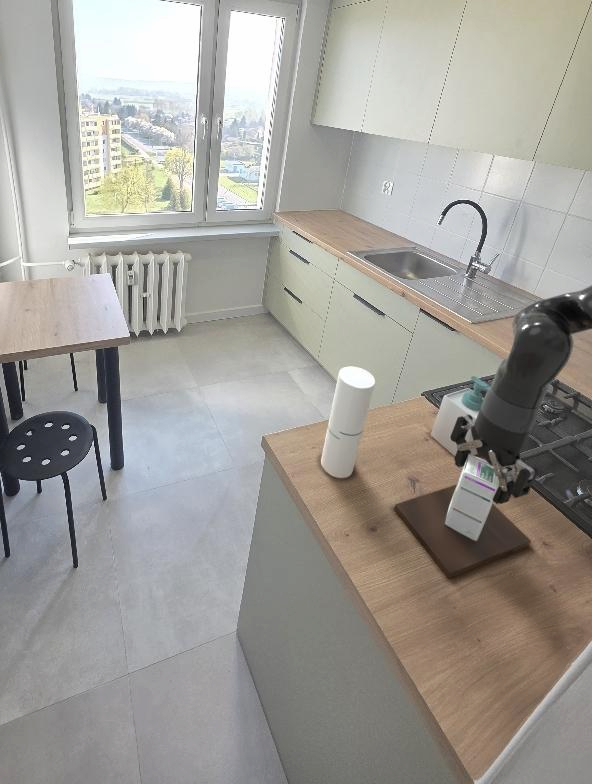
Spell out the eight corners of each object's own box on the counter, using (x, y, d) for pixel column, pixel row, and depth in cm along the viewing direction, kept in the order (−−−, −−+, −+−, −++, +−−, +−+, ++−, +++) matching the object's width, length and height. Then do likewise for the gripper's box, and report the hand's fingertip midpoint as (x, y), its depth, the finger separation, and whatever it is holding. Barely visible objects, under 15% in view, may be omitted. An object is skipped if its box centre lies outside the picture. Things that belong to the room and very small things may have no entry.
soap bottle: (460, 462, 98) (485, 398, 90) (430, 435, 106) (450, 374, 98) (485, 452, 101) (512, 389, 93) (454, 426, 109) (476, 366, 101)
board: (467, 485, 92) (468, 480, 92) (528, 546, 80) (531, 541, 80) (393, 509, 86) (395, 504, 86) (448, 578, 74) (450, 573, 74)
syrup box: (477, 543, 79) (501, 489, 73) (442, 524, 82) (463, 471, 76) (480, 520, 83) (504, 468, 77) (448, 503, 86) (468, 452, 80)
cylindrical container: (350, 482, 92) (373, 392, 82) (318, 470, 94) (336, 381, 84) (354, 459, 98) (376, 372, 88) (324, 448, 100) (341, 362, 90)
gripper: (565, 441, 66) (529, 511, 73) (486, 385, 79) (461, 449, 85) (532, 451, 64) (498, 522, 71) (455, 392, 77) (432, 457, 83)
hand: (478, 482), depth 78 cm, fingers closed on syrup box, 7 cm apart
